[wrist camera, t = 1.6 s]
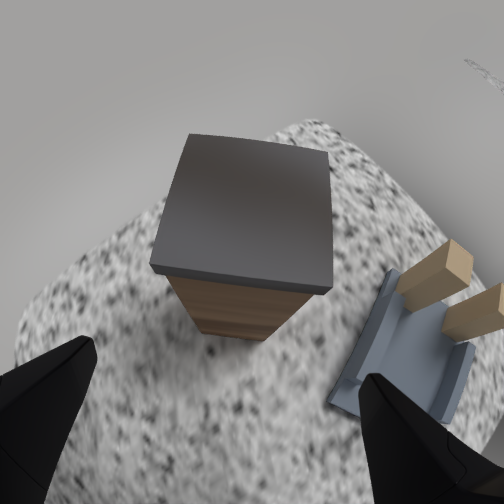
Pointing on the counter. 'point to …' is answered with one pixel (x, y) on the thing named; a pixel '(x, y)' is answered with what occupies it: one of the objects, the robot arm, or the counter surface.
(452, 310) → the base with wooden posts
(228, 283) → the rail end
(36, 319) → the counter surface
